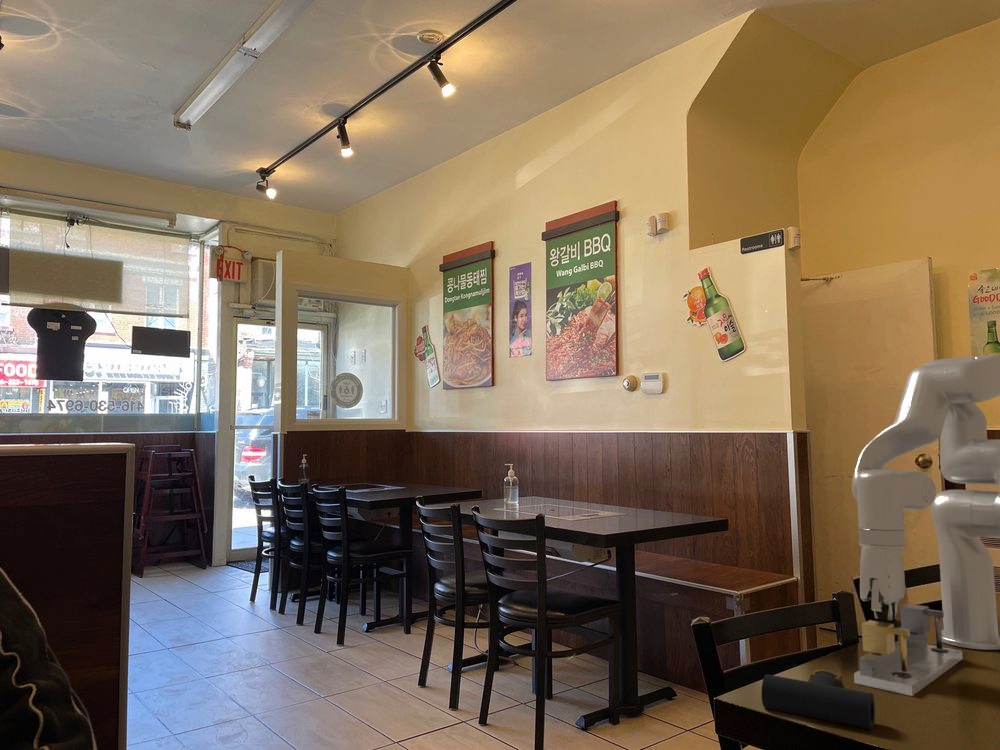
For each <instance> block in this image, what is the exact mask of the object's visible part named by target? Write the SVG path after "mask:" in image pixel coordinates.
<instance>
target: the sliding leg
mask: <svg viewBox="0 0 1000 750" xmlns="http://www.w3.org/2000/svg"><path fill="white" fill-rule="evenodd" d="M894 634H895V635H899V637H900V655H901V671H904V672H908V662H907V645H906V636H907V637H908V636H910V630H908V629H902V628H896V627H894V624H891V623H884V622H878V621H875V620H872V619H869V620H867V621H864V622H862V623H861V637H862V638H861V639H862V650H863V652H864V651H865V652H868V653H869V652H874V653H879V654H884V655H888V654H890V653H892V652H894V651H895V639H894Z"/></svg>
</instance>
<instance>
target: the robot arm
mask: <svg viewBox="0 0 1000 750" xmlns="http://www.w3.org/2000/svg"><path fill="white" fill-rule="evenodd" d="M999 396H1000V354H995V353H992V354H983V355H980V354H979V355H970V356H960V357H958V356H957V357H949V358H939V359H935V360H931V361H928V362H926V363H924V364H922V365H921V366H918V367H916V368H913V369H912V371H910V373H909V374H908V376H907V378H906V381H905V384H904V388H903V391H902V394H901V398H900V401H899V405H898V408H897V411H896V414H895V417H894V421H893V423H892V424H890V425H889V426H887V427H886V428H885V429H883V430H882V431H881V432H879V433H878V434H877V435H876V436H875V437H873V438H872V439H871V440H870V441H869V442H868V443H867V444H866V445H865V446H864V448H863V449H862V450H861V452H860V454H859V456H858V459H857V462H856V464H855V468H854V471H853V475H852V478H851V479H852V481H851V492H852V496H853V497H854V499H855V501H856V502H857V513H858V514H857V516H858V518H857V519H858V520H857V521H858V536H859V537H858V538H859V540H858V541H859V547H861V552H860V560H859V561H860V564H859V595H860V597H859V598H860V599H861V600H862V601H863V602H869V601H870V603H871V605H870V607H871V608H870V609H871V611H873V613H874V619H875V620H874V621H878V622H884V623H891V624H894V627H896V628H898V626H897V605H898V603H899V600H900V599H902V598H903V597H904V596H905V587H906V581H905V579H906V578H905V569H904V561H903V560H904V559H903V558H904V557H903V551H902V550H904V549H906V548H907V547H906V532H905V513H904V512H905V511H906V510H907V511H920V510H921V511H922V510H924V509H927V508H928V507H930V513H931V517H932V521H933V526H934V529H935V534H936V539H937V545H938V554H939V555H938V556H939V557H938V558H939V560H938V561H939V570H940V571H939V574H940V587H941V590H940V591H941V604H942V605H941V606H942V607H941V609H942V611H944V617H943V618H942V621H943V629H941V630H942V643H944V644H947V645H951V646H955V647H958V648H965V649H971V650H980V651H982V650H984V651H998V650H1000V635H999V630H998V617H997V614H998V613H997V602H996V601H997V600H996V589H995V588H996V587H995V586H996V585H995V573H994V560H993V556H992V555H991V553H990V551H989V550H988V548H987V547H986V545H985V544H984V543H983V542H982V541H981V540H980V538H990V539H991V538H993V539H1000V491H997V490H995V491H994V490H993V491H992V490H991V491H990V490H978V489H976V490H975V489H946V490H943V491H939V492H938V493H937V488H936V485H935V482H934V479H932V478H931V477H930V476H929V475H928V474H926V473H925V472H922V471H919V470H911V469H909V470H908V469H884V468H885V467H886V466H887V465H888V464H889V463H890V462H891V461H893V460H895V459H896V458H898V457H900V456H902V455H905V454H908V453H911V452H913V451H916V450H918V449H921V448H924V447H926V446H929V445H931V444H934V443H935V442H937V440H939V442H940V443H939V444H940V445H939V447H940V449H939V462H940V463H939V466H940V472H941V474H942V476H943V478H944V479H945V480H947V481H949V482H951V483H956V484H962V485H963V484H965V485H966V484H967V485H986V486H990V485H991V486H998V489H999V490H1000V439H988V434H987V431H988V427H987V425H988V424H987V417H986V415H985V413H984V412H983V410H981V408H980V407H979V406H978V405H977V404H978V403H982V402H986V401H990V400H992V399H994V398H997V397H999ZM894 639H895V642H897V641H898V635H895V634H894Z"/></svg>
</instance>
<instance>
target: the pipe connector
mask: <svg viewBox="0 0 1000 750" xmlns="http://www.w3.org/2000/svg"><path fill="white" fill-rule="evenodd" d="M761 704H762V706H763V708H764V707H765V708H764V709H767V708H770V709H769V710H772V709H774V710H773V711H777V710H779V711H778V712H782V711H783V713H787V712H788V714H792V713H793V715H796V714H798V715H797V716H801V715H802V717H806V716H807V718H811V719H816V720H822V721H826V722H830V723H836V724H841V725H845V726H849V727H850V726H851V727H854V728H859V729H860V728H861V729H865V730H870V731H872V730H873V728H874V727H875V722H876V721H875V719H876V706H875V705H876V703H875V697H874V694H873V693H872V692H867V691H861V690H856V689H850V688H846V685H845V683H844V681H843V673H841V672H836V671H832V670H829V669H824V668H823V669H819V668H818V669H814V670H813V671H812V672H811V673H810V677H809V680H808V681H806V680H800V679H795V678H790V677H789V678H788V677H783V676H779V675H778V676H777V675H773V674H767V673H766V674H764V676H763V679H762V685H761Z"/></svg>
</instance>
